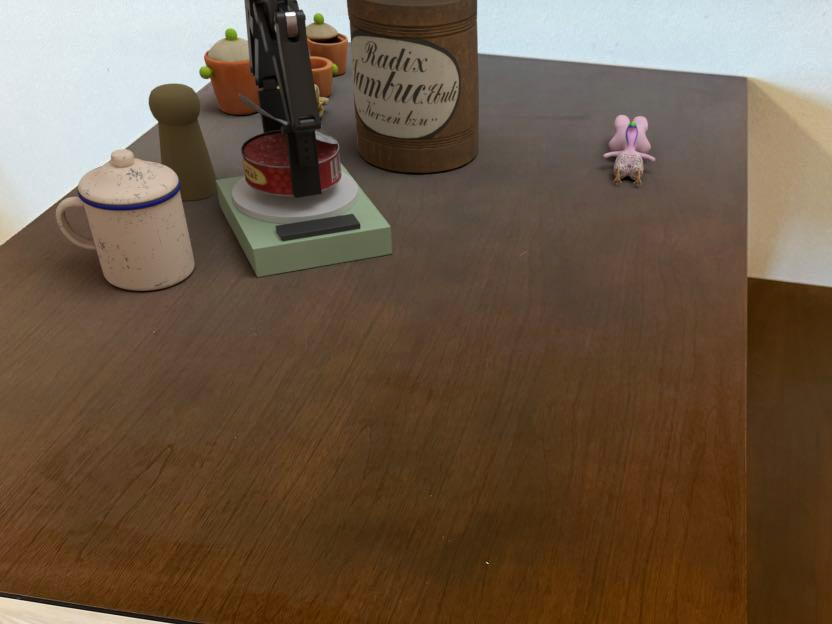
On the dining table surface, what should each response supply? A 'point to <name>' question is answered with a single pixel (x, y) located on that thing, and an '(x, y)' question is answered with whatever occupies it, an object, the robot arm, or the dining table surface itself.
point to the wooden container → (415, 82)
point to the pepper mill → (183, 139)
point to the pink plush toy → (629, 147)
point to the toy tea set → (233, 76)
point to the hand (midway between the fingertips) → (293, 173)
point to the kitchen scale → (304, 226)
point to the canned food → (284, 160)
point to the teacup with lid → (133, 222)
